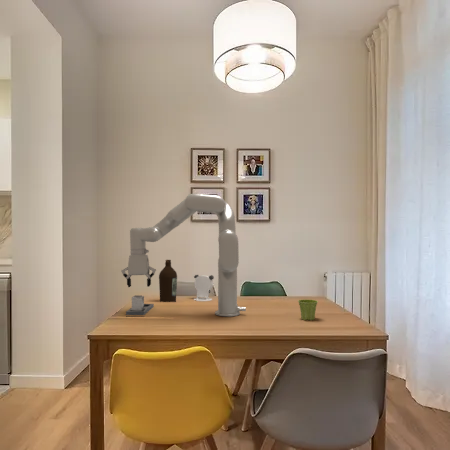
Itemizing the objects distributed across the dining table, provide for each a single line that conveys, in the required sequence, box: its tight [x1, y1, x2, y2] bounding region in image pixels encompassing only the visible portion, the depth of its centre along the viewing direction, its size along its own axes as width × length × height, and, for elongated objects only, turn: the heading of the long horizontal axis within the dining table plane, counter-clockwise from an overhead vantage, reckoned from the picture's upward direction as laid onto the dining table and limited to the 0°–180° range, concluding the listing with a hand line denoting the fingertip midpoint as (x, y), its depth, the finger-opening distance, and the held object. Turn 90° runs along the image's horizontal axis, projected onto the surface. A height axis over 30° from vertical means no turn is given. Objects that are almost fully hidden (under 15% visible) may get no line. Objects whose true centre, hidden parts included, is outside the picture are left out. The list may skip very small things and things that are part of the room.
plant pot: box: [297, 299, 319, 321], centre depth 196 cm, size 9×9×9 cm
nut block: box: [131, 294, 145, 311], centre depth 204 cm, size 5×5×8 cm
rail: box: [125, 303, 154, 318], centre depth 210 cm, size 9×22×2 cm, turn 178°
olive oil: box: [158, 259, 178, 303], centre depth 240 cm, size 11×11×25 cm
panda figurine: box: [193, 274, 215, 302], centre depth 250 cm, size 12×11×15 cm
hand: (139, 286), depth 205 cm, fingers open, 9 cm apart
